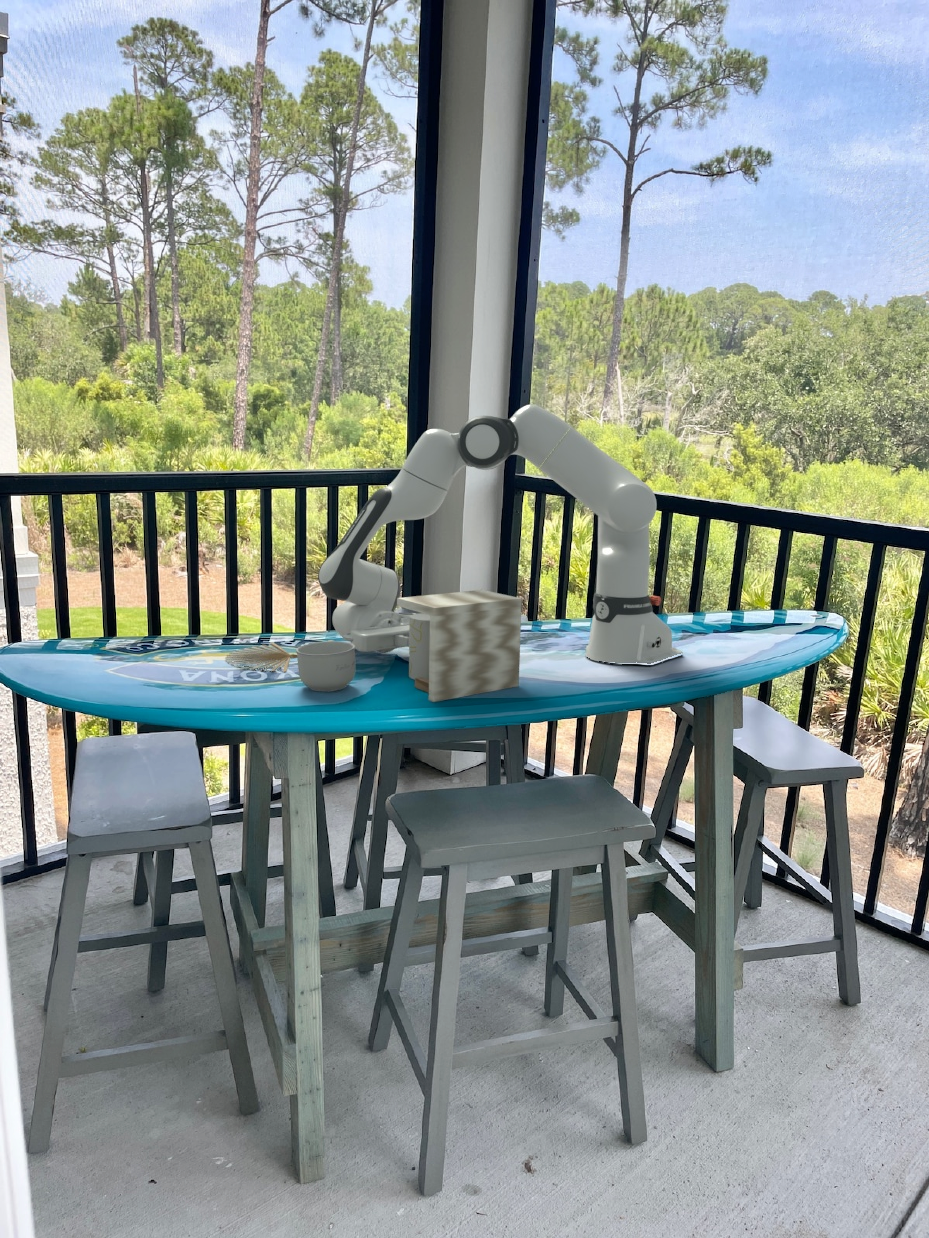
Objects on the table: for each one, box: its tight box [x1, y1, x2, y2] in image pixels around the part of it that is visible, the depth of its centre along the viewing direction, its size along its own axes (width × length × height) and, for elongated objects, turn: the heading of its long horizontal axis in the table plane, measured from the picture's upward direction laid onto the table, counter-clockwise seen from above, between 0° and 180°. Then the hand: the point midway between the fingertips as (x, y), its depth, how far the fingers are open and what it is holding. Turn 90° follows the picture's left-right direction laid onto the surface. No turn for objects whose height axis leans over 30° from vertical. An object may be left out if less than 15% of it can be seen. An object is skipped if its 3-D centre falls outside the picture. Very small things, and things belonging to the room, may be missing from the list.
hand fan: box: [225, 642, 297, 673], centre depth 189 cm, size 26×1×15 cm
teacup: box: [295, 639, 356, 692], centre depth 168 cm, size 14×11×8 cm
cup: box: [408, 612, 430, 681], centre depth 176 cm, size 8×8×12 cm
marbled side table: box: [397, 589, 523, 703], centre depth 168 cm, size 20×12×17 cm, turn 127°
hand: (418, 643), depth 179 cm, fingers closed, pressing on cup
